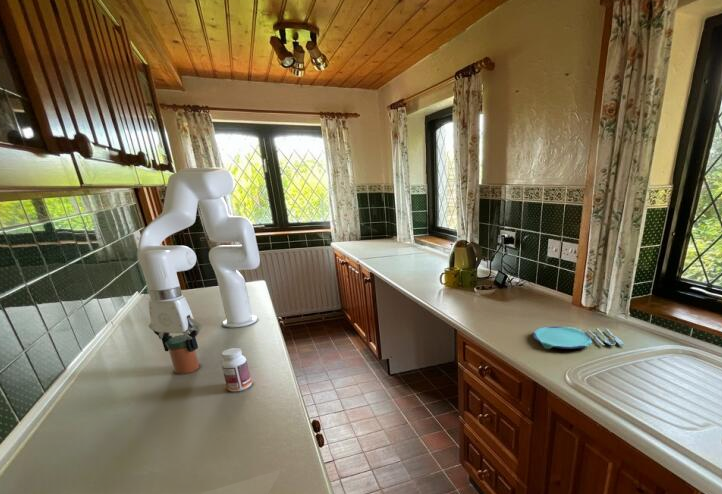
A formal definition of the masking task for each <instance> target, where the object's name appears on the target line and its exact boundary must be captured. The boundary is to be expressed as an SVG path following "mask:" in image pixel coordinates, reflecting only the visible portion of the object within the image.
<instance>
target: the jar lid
mask: <svg viewBox="0 0 722 494" xmlns="http://www.w3.org/2000/svg"><path fill="white" fill-rule="evenodd" d="M186 340H187V338H186V336H185V335H184V334H180V335H175V336H172V337H171V338H169V339H167V340H166V341H165V344H166V347H167V348H169V349H177V348H182V347H186V346H187V343H186Z"/></svg>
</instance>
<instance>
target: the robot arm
mask: <svg viewBox="0 0 722 494" xmlns="http://www.w3.org/2000/svg"><path fill="white" fill-rule="evenodd" d="M235 185H236V183H235V178H234V176H233V174H232V173H231V172H230V170H228V169H227V168H224V167H186V168H181V169H179V170H178V171H177V172H173V173H172V174H170V176H169V177H168V179H167V184H166V188H165V196H164V201H163V206H162V212H161V213H160V214H159V215H157V216H156V217H155V218H154V219H152V221H151V222H150V223H148V224H147V226H146V227H144V229H143V230H142V232H141V233H140V236H139V241H138V245H137V252H136V253H137V254H136V255H137V262H138V264H139V266H140V268H141V271H142V275H143V278H144V281H145V284H146V288H147V289H146V294H148V295H149V297H150V298H149V299H148V312H149V317H150V323H149V325H148V328H149V329H150V330H151V331H152V332H153V333H154V334H155V335H157V337H158V339H159V340H161V342H162V346H163V348H164V352H169V350H168V348H167V347H166V344H165V341H166V340H167V339H169V338H171V337H173V336H172V335H170V334H182V335H185V336H186V338H187V340H186V343H187V347H188V351H189V352H192V351H194V350H195V351H196V350H197V349H199V346H198V342H197V339H196V337H198V335H199V333H200V331H201V330H202V328H203V325H202V324H201V323H199V322H198V321H196V320H195V318H194V316H193V313H192V310H191V308H190V305H189V303H188V301H187V299H186V297H185V296H184V295H183V293H182V288H181V285H180V281H179V277H178V274H177V273H178V272H185V271H189V270H191V269H193V268H194V266H195V265H196V263H197V255H196V252H195V251H194V250H193V249H192V248H190V247H189V246H186V245H181V244H180V245H161V244H162V243H163V241H165V240H166V239H167V238H168V237H170V236H172V235H173V234H176V233H178V232H181V231H182V230H185V229H187V228H189V227H191V226H193V225H194V224H195V222H196V219H197V211H198V206H199V208H200V212H201V215H202V219H203V223H204V227H205V231H206V234H207V237H208V238H209V240H210V241H212V242H213V243H239V244H230V245H229V244H227V245H217V246H214V247H212V248H210V250H209V251H208V259H209V263H210V266H211V268H212V270H213V271H214V275H215V278H216V282H217V286H218V289H219V294H220V298H221V303H222V307H223V311H224V315H225V319H224V320H223V322H222V326H223V327H225V328H241V327H246V326H250V325H252V324H254V323H256V322H257V321H258V317H257V316H256V315H253V313H252V308H251V303H250V298H249V294H248V289H247V284H246V280H245V278H244V276H243V275H242V273H240V272H239V271H242V270H243V271H244V270H255V269H257V268H259V266H260V263H261V256H260V251H259V247H258V242H257V237H256V233H255V228H254V226H253V223H252V222H251V220H250V219H249V218H248V217H246V216H239V215H235V216H234V215H230V213H229V210H228V206H227V203H226V201H225V200H224V197H226V196H228V195H230V194H231V193H233V191H234V189H235Z"/></svg>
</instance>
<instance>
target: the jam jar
mask: <svg viewBox="0 0 722 494" xmlns="http://www.w3.org/2000/svg"><path fill="white" fill-rule="evenodd" d="M168 350H169V351H168V353H169V356H170V360H171V363H172V366H173V370H174V374H178V375H184V374H185V375H186V374H189V373H192V372H195V371H197V370H199V368H200V363H199V360H198V356H197V352H196V350H194V351H192V352H189V351H188V347H187V346H186V347H182V348H177V349H169V348H168Z"/></svg>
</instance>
